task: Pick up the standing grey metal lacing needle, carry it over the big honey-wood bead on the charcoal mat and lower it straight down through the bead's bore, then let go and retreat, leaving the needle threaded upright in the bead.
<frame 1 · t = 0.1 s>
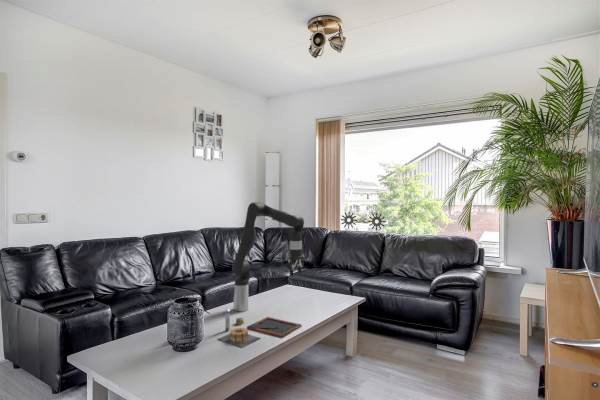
hand: (295, 274, 210), 29 cm above the table, fingers open, 8 cm apart
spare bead: (239, 323, 209), on the table
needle: (227, 330, 198), on the table
bead block: (239, 339, 186), on the table
picture frame: (274, 328, 203), on the table
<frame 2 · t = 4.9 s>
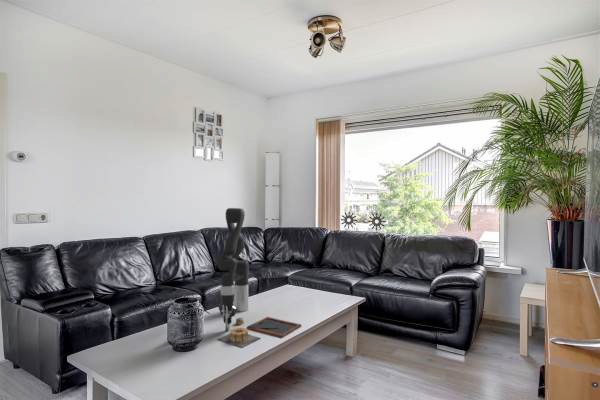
hand: (227, 323, 198), 4 cm above the table, fingers closed on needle, 2 cm apart
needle: (227, 330, 198), on the table, touching gripper
everything else where it was.
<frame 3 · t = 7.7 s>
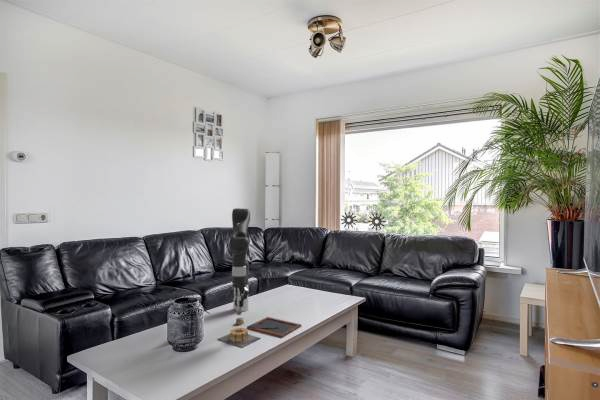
hand: (239, 306, 186), 18 cm above the table, fingers closed on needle, 2 cm apart
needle: (238, 314, 186), point 13 cm above the table, touching gripper
everything else where it was.
when the fingers open (6 cm above the table, at t = 10.9 s): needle stays where it is, resting on bead block.
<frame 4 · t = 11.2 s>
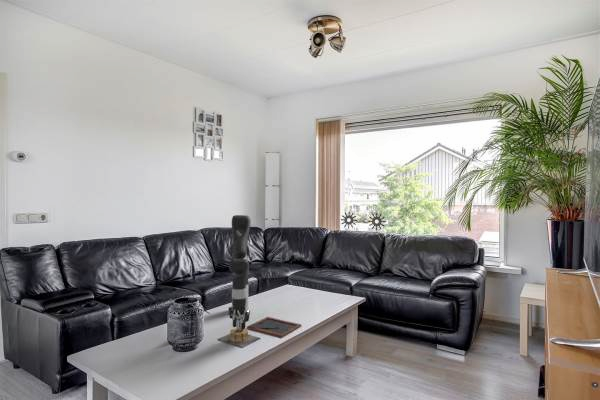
hand: (239, 327, 186), 6 cm above the table, fingers open, 5 cm apart
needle: (238, 338, 186), resting on bead block
everything else where it was.
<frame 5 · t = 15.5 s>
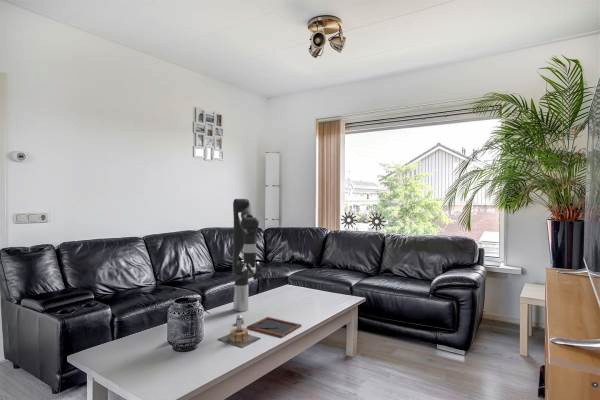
hand: (249, 278, 204), 28 cm above the table, fingers open, 8 cm apart
nothing on the table moved.
at the end: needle 0.1 cm off-centre on the bead block, point 0.4 cm above the bead block's base; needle tilted 0°; the gripper is holding nothing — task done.
